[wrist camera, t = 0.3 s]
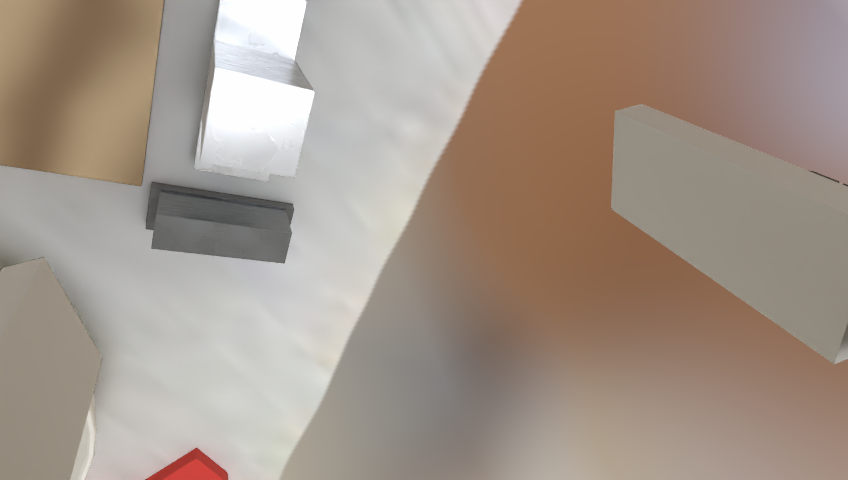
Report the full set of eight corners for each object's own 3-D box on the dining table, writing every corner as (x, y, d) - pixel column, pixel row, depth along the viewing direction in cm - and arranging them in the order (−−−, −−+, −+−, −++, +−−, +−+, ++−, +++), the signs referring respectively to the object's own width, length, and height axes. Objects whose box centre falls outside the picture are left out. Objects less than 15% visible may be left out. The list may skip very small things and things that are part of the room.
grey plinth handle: (146, 222, 33) (139, 255, 30) (194, -144, 26) (191, -156, 23) (283, 240, 36) (291, 271, 33) (358, -81, 29) (377, -83, 26)
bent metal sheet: (194, 156, 32) (189, 225, 25) (223, -28, 29) (228, -13, 21) (265, 169, 34) (281, 237, 26) (301, -3, 30) (331, 18, 23)
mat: (-33, 155, 29) (-37, 159, 28) (-34, -161, 23) (-39, -163, 23) (142, 182, 32) (140, 186, 31) (175, -89, 27) (174, -90, 26)
